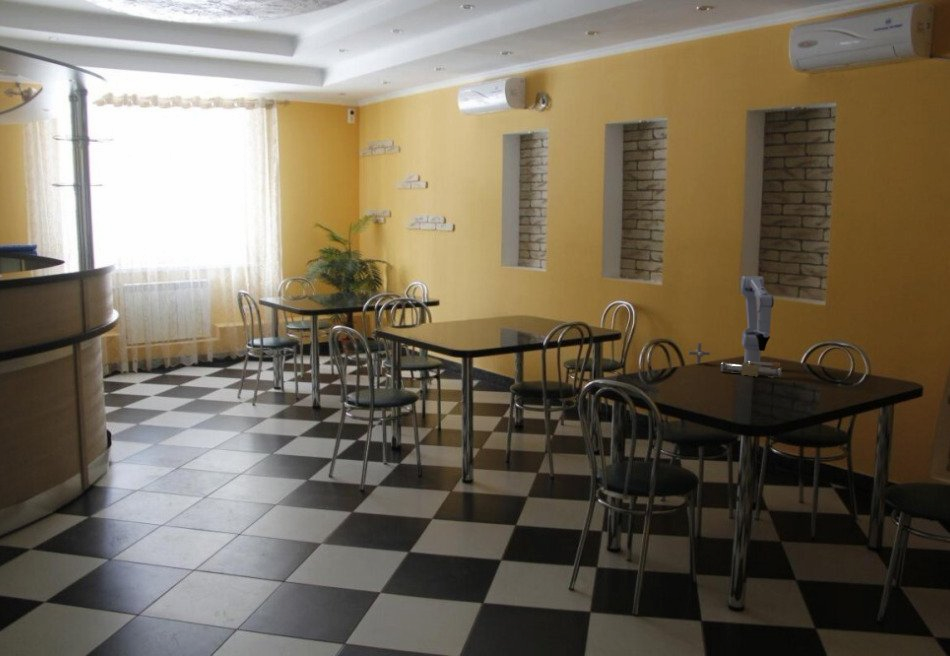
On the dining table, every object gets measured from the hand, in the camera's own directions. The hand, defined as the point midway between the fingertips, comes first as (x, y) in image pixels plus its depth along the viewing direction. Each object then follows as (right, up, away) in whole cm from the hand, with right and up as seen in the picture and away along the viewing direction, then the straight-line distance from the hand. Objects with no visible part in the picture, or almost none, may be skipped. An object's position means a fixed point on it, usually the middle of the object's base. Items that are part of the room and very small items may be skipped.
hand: (761, 350), depth 392 cm
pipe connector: (-23, -7, +22) cm, 33 cm away
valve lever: (-2, -6, -7) cm, 10 cm away
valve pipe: (-7, -11, -4) cm, 13 cm away
